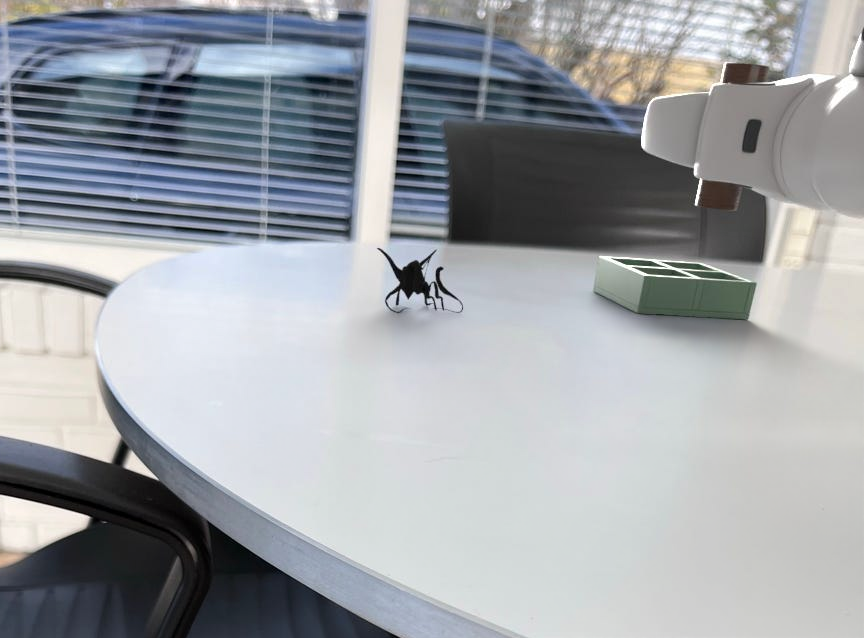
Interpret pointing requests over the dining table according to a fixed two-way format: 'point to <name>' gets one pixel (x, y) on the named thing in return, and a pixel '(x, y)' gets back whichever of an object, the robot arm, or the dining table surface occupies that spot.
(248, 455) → the dining table surface
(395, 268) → the creature
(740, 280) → the grid
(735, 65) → the brown cylinder
